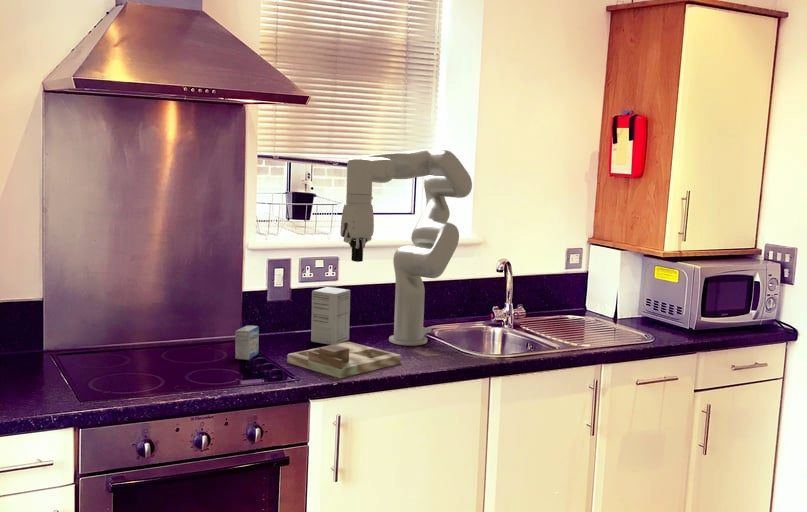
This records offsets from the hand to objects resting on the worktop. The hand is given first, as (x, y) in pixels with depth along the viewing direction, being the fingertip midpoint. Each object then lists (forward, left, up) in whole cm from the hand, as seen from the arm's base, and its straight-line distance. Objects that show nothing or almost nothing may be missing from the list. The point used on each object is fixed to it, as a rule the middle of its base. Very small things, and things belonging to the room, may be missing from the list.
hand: (357, 261), depth 264 cm
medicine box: (+25, -20, -29) cm, 43 cm away
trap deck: (+8, +4, -29) cm, 30 cm away
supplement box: (-8, -19, -29) cm, 36 cm away
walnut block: (+16, +8, -27) cm, 32 cm away
